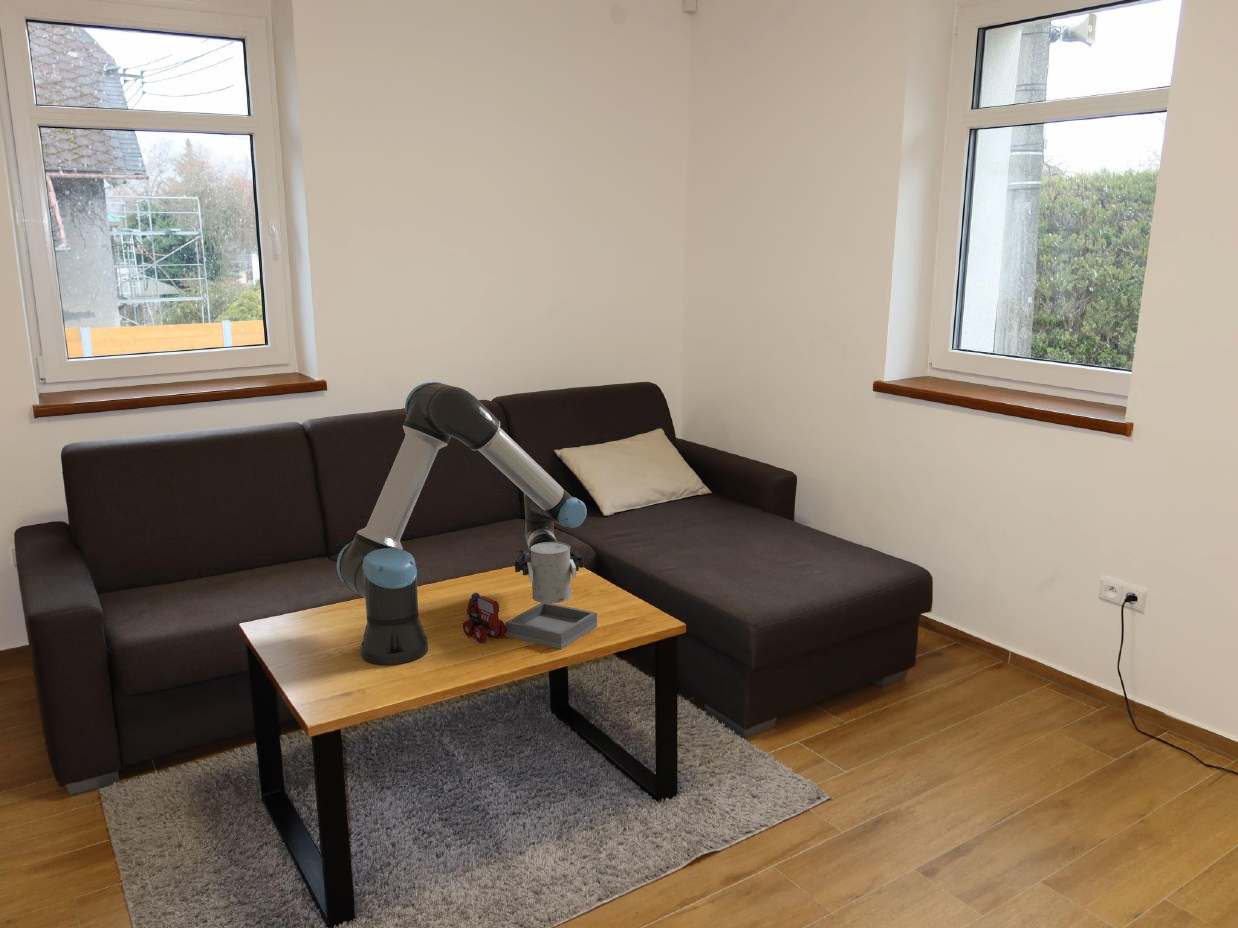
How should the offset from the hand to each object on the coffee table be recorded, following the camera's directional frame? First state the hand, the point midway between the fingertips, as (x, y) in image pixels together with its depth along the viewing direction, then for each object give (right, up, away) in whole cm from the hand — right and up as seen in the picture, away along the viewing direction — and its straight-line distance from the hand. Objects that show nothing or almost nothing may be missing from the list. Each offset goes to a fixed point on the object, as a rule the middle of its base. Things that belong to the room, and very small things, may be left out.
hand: (553, 574), depth 229 cm
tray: (-1, -15, +7) cm, 17 cm away
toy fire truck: (-17, -16, +5) cm, 24 cm away
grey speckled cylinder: (-1, -6, +6) cm, 8 cm away
